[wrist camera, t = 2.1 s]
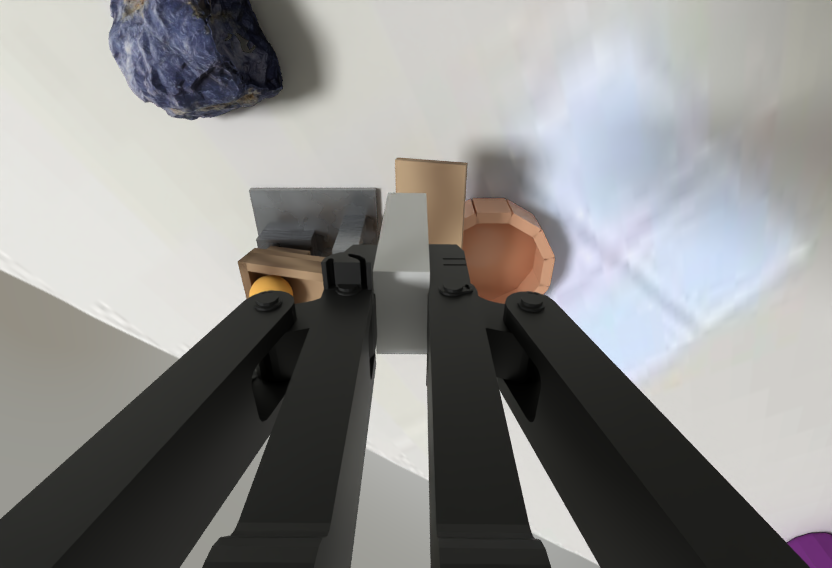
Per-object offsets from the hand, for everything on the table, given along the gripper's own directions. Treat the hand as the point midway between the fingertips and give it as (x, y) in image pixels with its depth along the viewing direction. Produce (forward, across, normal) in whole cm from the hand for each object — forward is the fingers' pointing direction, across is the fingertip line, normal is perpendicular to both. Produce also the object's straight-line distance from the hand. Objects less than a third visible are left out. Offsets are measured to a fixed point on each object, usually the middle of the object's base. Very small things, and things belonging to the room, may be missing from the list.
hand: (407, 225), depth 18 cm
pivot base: (+23, -9, -13) cm, 28 cm away
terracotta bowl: (+23, +7, -12) cm, 27 cm away
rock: (+23, -16, +6) cm, 29 cm away
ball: (+16, -12, -13) cm, 24 cm away
